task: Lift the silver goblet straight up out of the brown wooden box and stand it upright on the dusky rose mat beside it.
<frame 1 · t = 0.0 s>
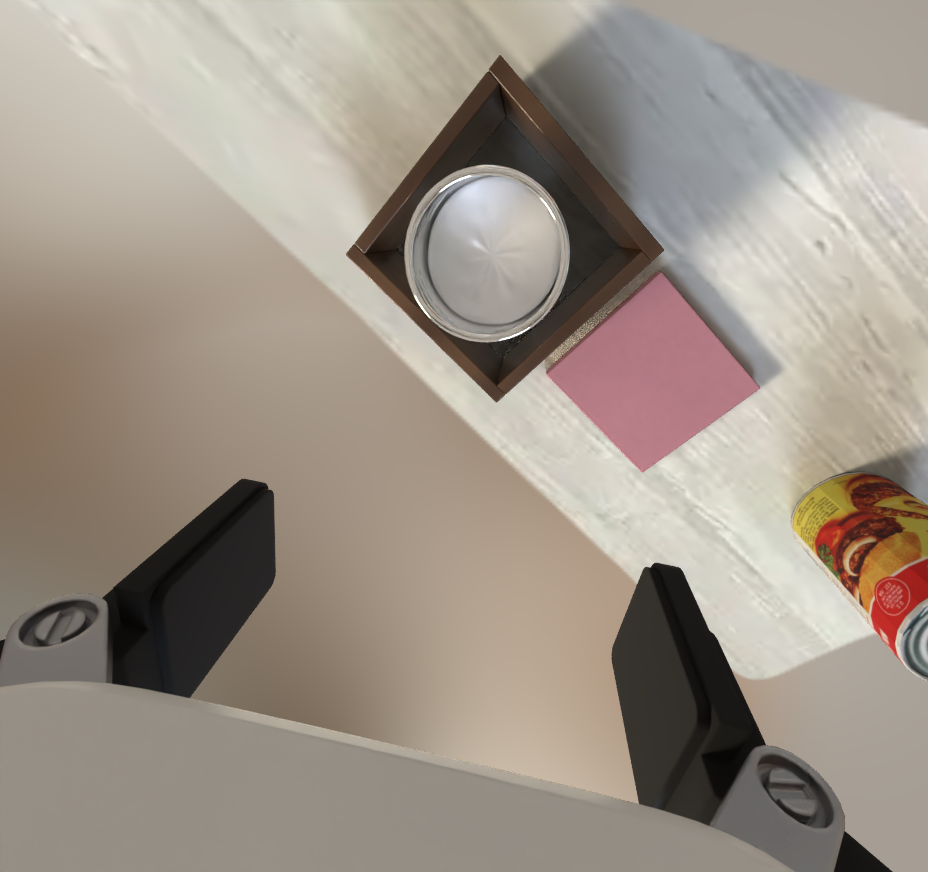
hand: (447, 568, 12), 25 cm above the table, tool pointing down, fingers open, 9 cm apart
brown wooden box: (504, 248, 32), on the table
canned food: (844, 514, 37), on the table
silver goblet: (504, 248, 32), resting in brown wooden box
mat: (647, 377, 34), on the table
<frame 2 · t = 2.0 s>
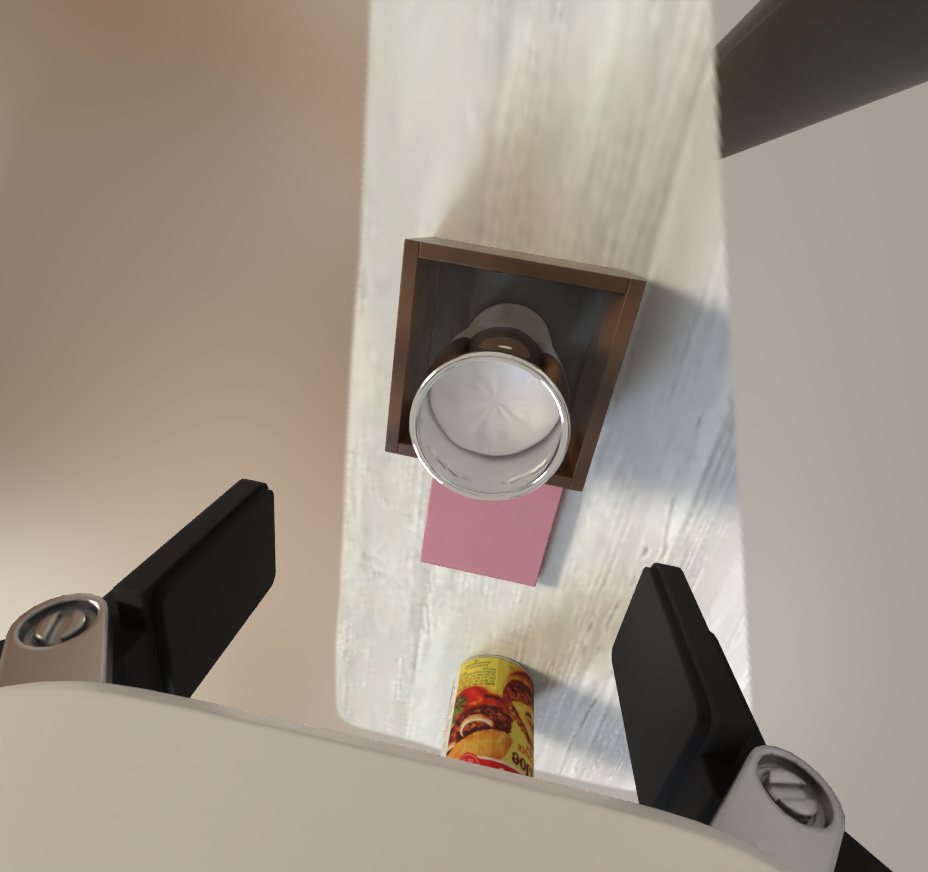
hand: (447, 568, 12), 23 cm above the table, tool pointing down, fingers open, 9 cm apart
brown wooden box: (507, 347, 32), on the table
canned food: (493, 681, 46), on the table
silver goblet: (507, 346, 33), resting in brown wooden box
mat: (489, 514, 38), on the table
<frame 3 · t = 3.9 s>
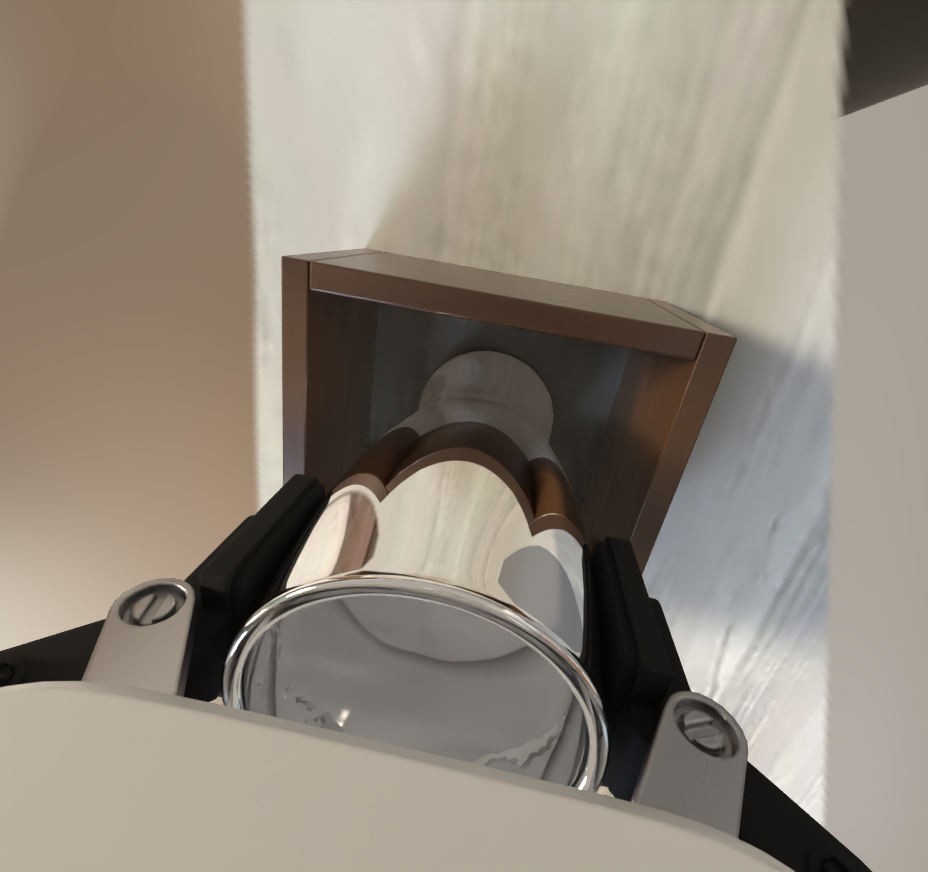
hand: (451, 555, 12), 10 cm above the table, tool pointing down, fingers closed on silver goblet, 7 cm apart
brown wooden box: (485, 415, 21), on the table
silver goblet: (485, 413, 21), resting in brown wooden box, touching gripper
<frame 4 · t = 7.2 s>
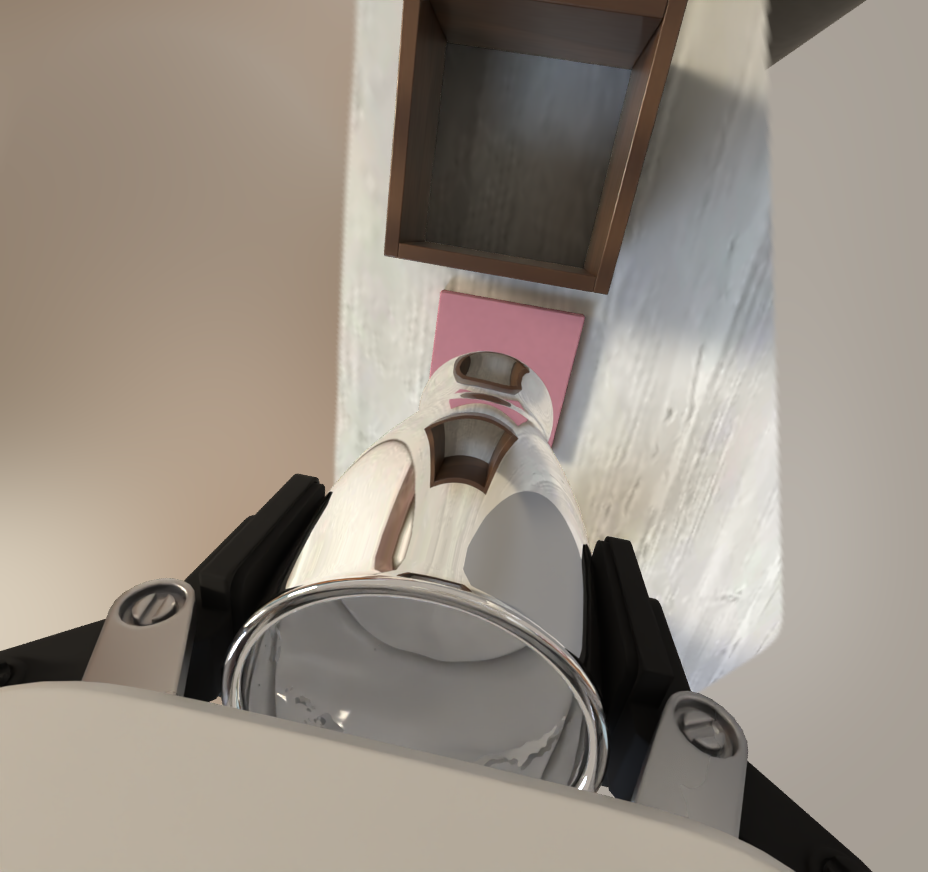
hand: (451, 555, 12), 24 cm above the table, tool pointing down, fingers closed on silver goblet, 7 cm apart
brown wooden box: (519, 163, 29), on the table
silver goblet: (485, 413, 21), point 14 cm above the table, touching gripper
mat: (498, 376, 35), on the table
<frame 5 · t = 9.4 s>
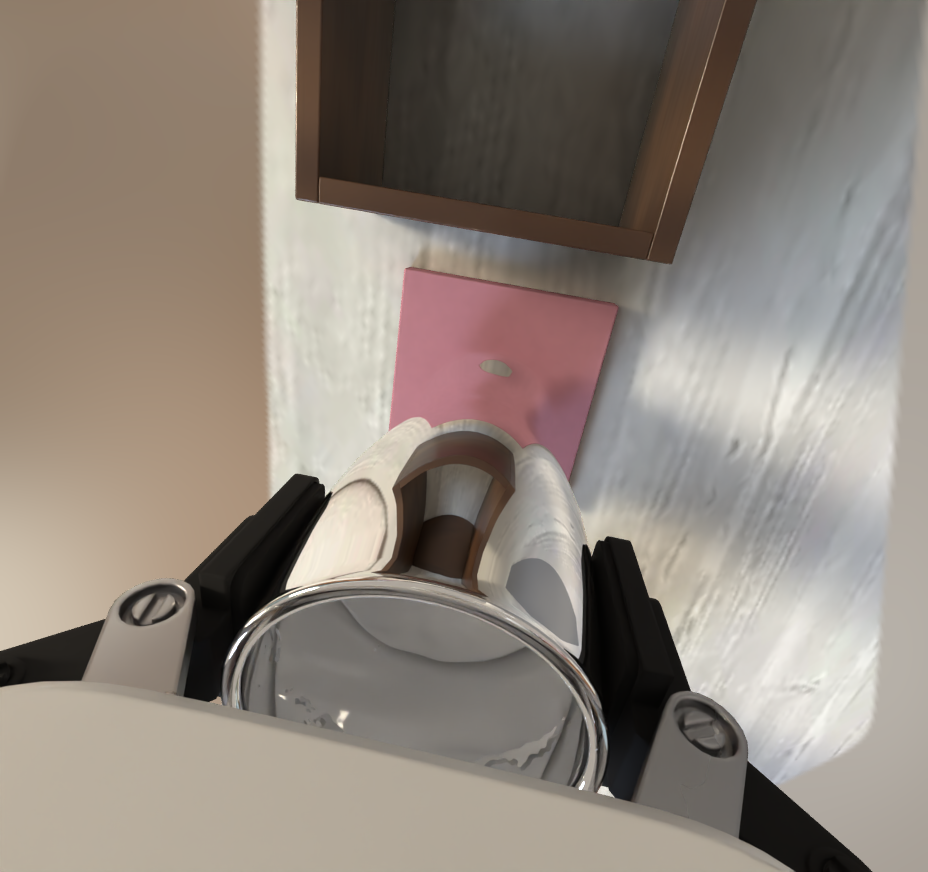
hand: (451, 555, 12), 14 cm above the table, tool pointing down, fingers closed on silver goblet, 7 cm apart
brown wooden box: (522, 66, 19), on the table
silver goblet: (485, 414, 21), point 3 cm above the table, touching gripper
mat: (490, 392, 24), on the table
when the fingers open (11 cm above the table, at t = 10.7 s): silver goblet stays where it is, resting on mat.
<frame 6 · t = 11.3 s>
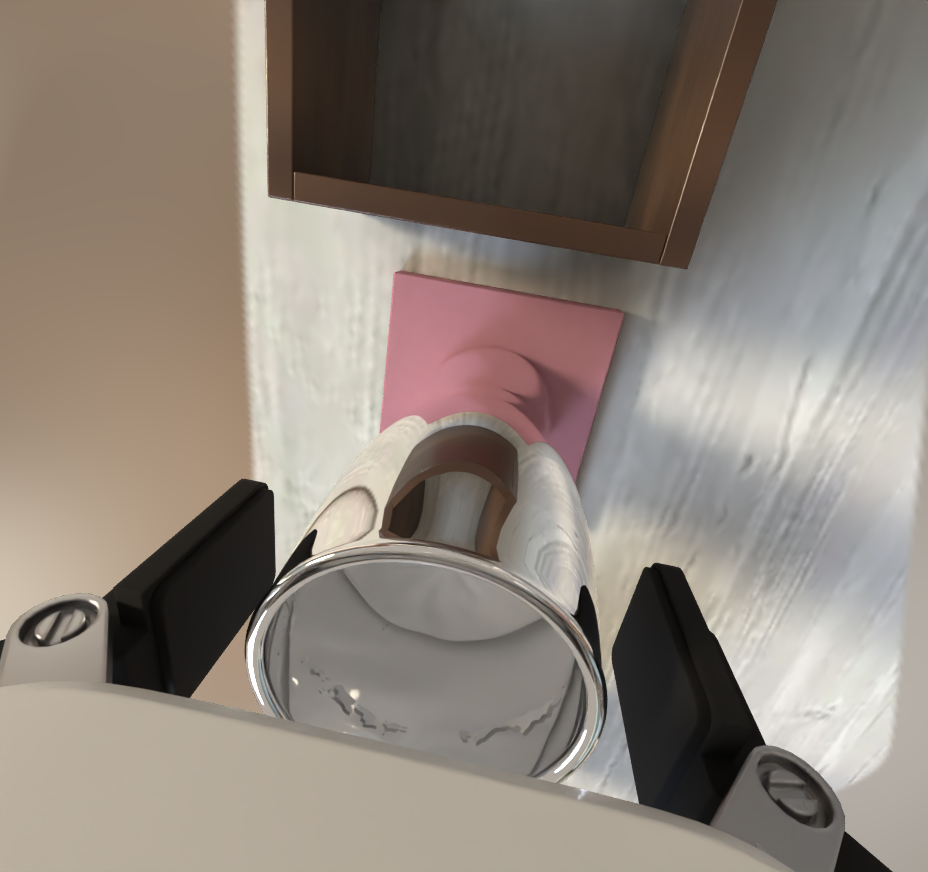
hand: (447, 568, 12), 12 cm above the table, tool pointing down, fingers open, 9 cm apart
brown wooden box: (520, 53, 17), on the table
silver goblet: (487, 408, 22), point 1 cm above the table, touching mat
mat: (487, 404, 23), on the table
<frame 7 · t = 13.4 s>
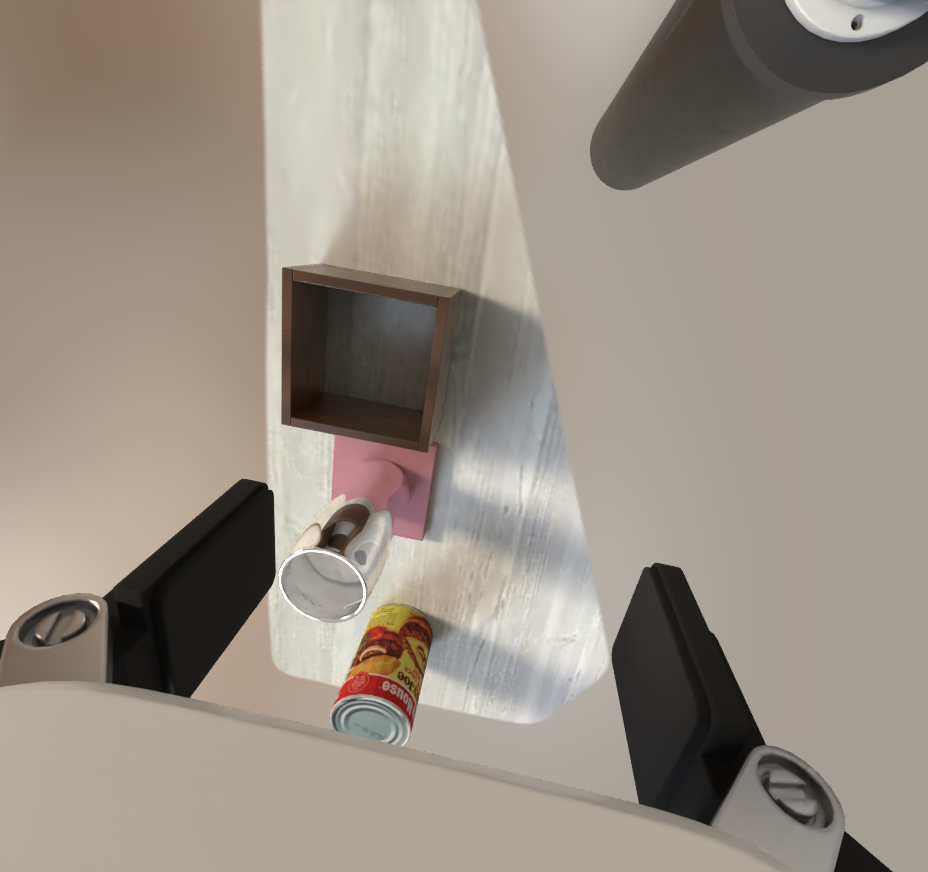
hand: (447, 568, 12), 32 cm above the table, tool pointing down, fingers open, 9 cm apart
brown wooden box: (383, 347, 42), on the table
canned food: (400, 628, 55), on the table
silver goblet: (381, 485, 47), point 1 cm above the table, touching mat
mat: (383, 481, 48), on the table
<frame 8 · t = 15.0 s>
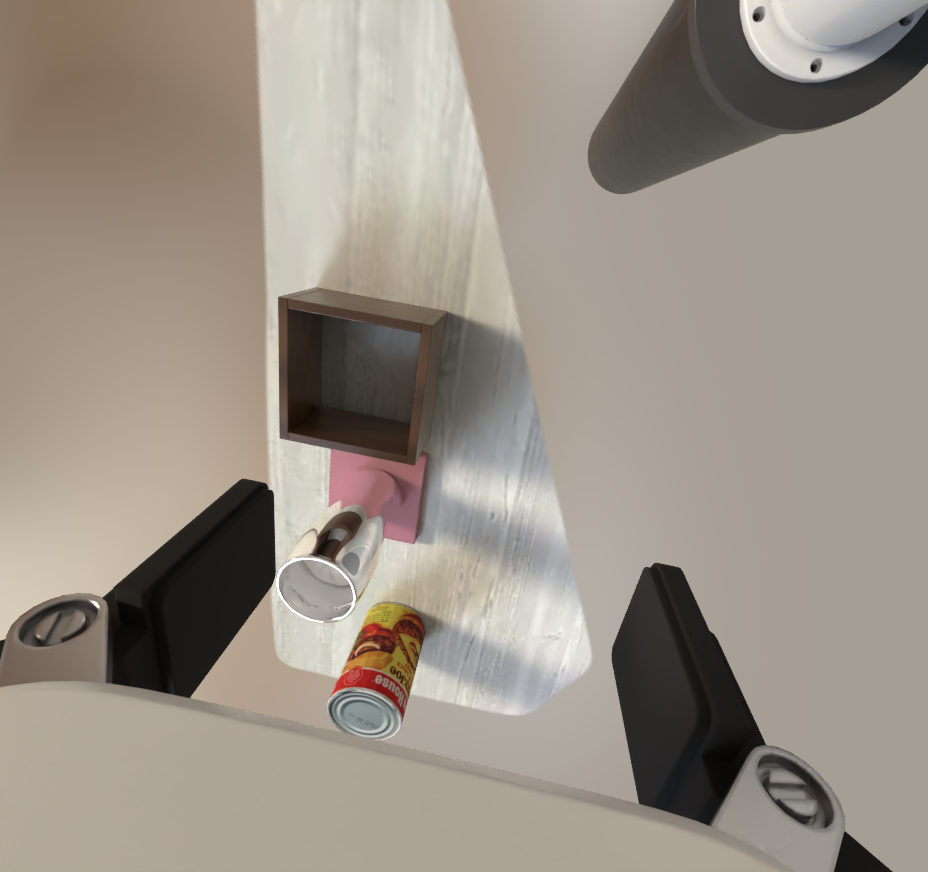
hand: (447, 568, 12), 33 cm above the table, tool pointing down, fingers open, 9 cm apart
brown wooden box: (375, 364, 45), on the table
canned food: (395, 624, 59), on the table
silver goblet: (375, 492, 50), point 1 cm above the table, touching mat
mat: (377, 488, 51), on the table
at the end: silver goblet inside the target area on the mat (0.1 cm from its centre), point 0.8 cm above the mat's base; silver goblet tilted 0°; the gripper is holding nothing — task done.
